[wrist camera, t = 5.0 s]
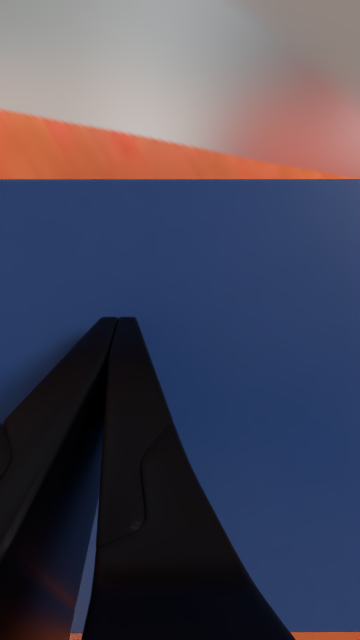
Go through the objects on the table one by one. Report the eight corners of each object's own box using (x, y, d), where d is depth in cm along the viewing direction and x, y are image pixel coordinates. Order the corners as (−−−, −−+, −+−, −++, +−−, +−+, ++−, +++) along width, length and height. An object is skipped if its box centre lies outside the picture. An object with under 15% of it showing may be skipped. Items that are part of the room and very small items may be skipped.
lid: (-149, 187, 9) (-176, 178, 8) (397, 187, 9) (415, 178, 8) (-117, 611, 10) (-139, 635, 9) (377, 610, 10) (392, 633, 9)
